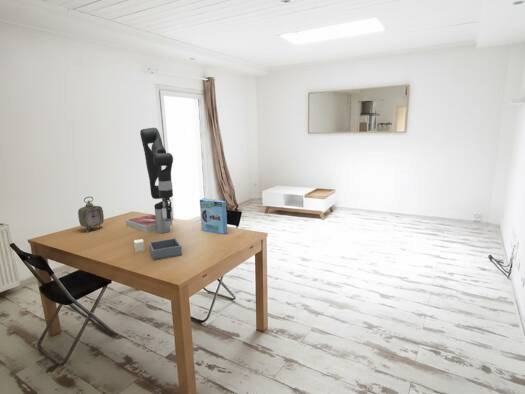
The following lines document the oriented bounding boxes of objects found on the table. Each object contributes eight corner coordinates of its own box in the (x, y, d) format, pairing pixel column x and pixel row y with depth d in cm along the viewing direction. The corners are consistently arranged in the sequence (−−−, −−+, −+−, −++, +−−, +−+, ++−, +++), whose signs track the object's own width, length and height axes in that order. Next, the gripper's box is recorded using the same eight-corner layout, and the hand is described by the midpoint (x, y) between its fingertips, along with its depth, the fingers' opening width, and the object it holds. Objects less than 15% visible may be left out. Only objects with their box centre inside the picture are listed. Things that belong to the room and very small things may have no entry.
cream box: (134, 248, 196) (133, 240, 195) (143, 247, 198) (142, 238, 197) (135, 252, 191) (134, 243, 190) (144, 250, 193) (143, 241, 192)
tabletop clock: (86, 233, 228) (81, 199, 222) (79, 231, 232) (74, 198, 227) (105, 228, 240) (101, 195, 235) (97, 226, 244) (93, 194, 239)
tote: (149, 251, 191) (149, 242, 190) (176, 246, 198) (175, 238, 197) (153, 260, 178) (152, 250, 176) (181, 255, 184) (181, 246, 183)
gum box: (227, 232, 224) (226, 200, 220) (223, 234, 220) (221, 202, 215) (205, 228, 234) (204, 198, 229) (201, 230, 229) (199, 199, 225)
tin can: (162, 219, 186) (161, 207, 185) (172, 218, 189) (171, 206, 187) (164, 221, 181) (163, 209, 180) (174, 220, 184) (173, 208, 182)
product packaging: (151, 220, 262) (151, 214, 261) (172, 225, 244) (172, 219, 243) (126, 226, 245) (125, 220, 244) (146, 233, 228) (146, 226, 227)
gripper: (156, 187, 186) (158, 215, 189) (161, 191, 173) (163, 221, 177) (169, 186, 189) (171, 213, 193) (175, 189, 177) (177, 219, 180)
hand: (167, 217), depth 185 cm, fingers closed on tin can, 5 cm apart
